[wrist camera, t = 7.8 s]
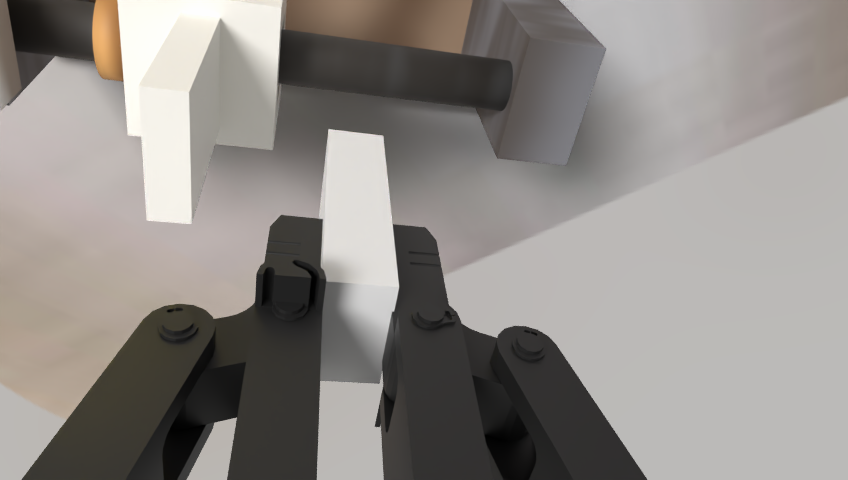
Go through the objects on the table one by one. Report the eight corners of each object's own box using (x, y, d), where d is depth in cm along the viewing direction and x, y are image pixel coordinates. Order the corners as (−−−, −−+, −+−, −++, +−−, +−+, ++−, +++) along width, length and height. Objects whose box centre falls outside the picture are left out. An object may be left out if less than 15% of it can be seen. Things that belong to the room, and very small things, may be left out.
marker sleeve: (289, -33, 26) (268, 79, 17) (280, 93, 29) (259, 246, 20) (152, -54, 25) (51, 52, 16) (158, 78, 28) (75, 232, 19)
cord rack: (540, -71, 33) (658, 20, 21) (497, 97, 38) (573, 246, 26) (-5, -171, 28) (-243, -123, 16) (28, 38, 33) (-136, 188, 21)
